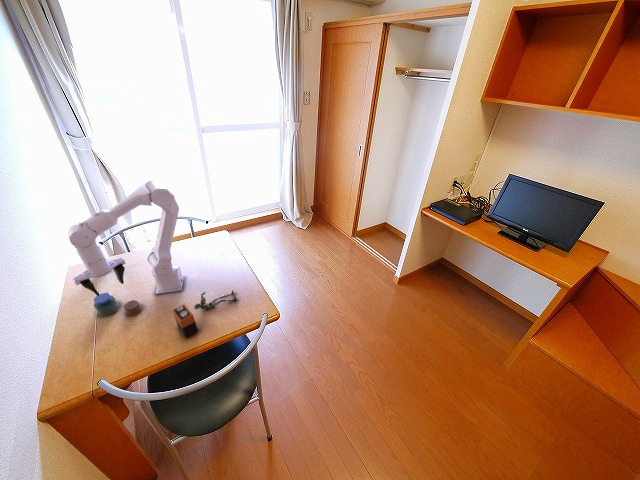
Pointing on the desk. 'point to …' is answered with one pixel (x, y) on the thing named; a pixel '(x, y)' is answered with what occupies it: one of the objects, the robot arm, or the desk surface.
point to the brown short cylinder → (132, 307)
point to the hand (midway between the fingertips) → (109, 288)
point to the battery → (185, 320)
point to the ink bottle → (105, 304)
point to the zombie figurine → (212, 303)
